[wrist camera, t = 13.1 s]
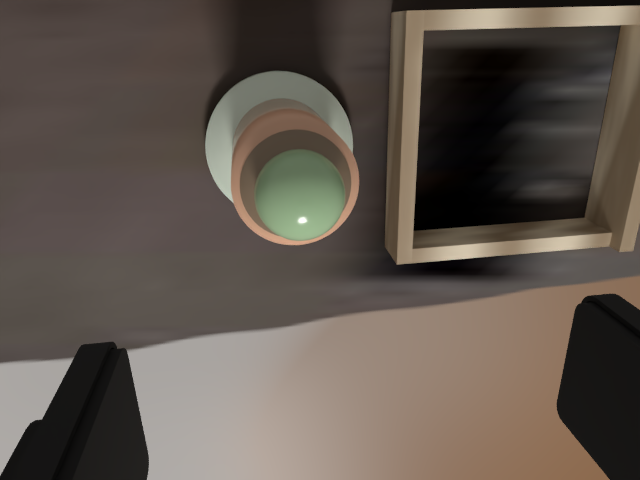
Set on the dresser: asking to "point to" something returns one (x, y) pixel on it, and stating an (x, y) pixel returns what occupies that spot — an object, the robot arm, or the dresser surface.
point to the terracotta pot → (291, 173)
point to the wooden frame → (528, 237)
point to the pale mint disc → (255, 93)
